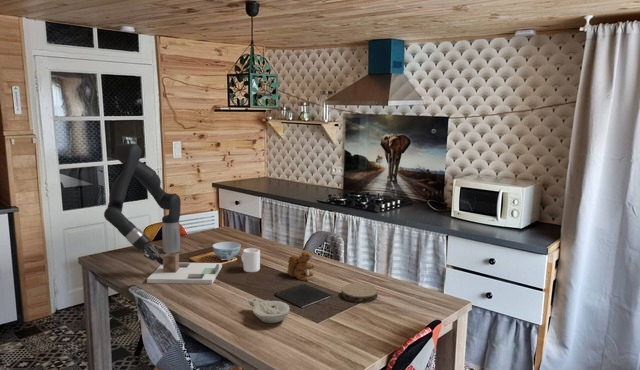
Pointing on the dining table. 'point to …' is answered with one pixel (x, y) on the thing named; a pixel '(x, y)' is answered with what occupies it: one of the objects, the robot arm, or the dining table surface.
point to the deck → (185, 274)
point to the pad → (209, 271)
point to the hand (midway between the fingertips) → (163, 263)
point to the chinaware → (226, 249)
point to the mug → (251, 259)
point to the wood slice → (359, 292)
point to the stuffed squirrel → (300, 266)
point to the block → (171, 262)
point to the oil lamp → (269, 310)
